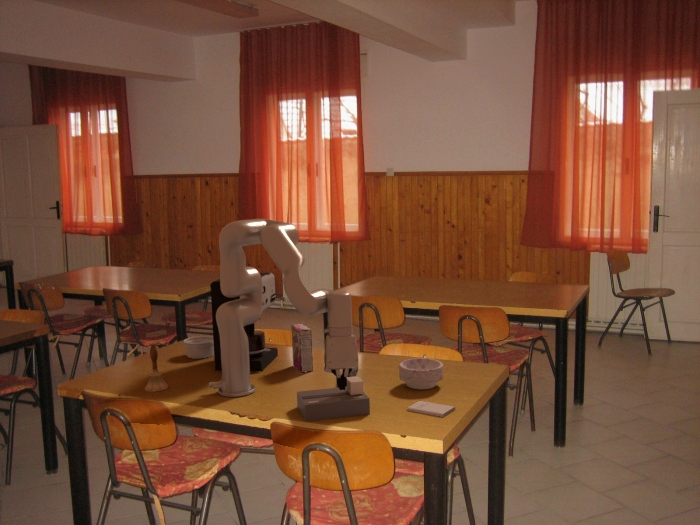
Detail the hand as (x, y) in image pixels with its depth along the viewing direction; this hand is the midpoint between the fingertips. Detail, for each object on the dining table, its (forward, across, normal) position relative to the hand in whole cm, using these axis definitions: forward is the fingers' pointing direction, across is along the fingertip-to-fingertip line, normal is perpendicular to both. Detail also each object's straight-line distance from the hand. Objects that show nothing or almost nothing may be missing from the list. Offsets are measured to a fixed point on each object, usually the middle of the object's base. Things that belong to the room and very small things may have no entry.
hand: (341, 388), depth 215 cm
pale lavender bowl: (+7, +32, +15) cm, 36 cm away
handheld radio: (+7, +11, +31) cm, 33 cm away
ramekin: (+8, -40, +86) cm, 95 cm away
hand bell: (+7, -57, +44) cm, 72 cm away
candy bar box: (+7, -3, +51) cm, 52 cm away
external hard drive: (+7, +26, -9) cm, 29 cm away
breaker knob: (+1, +4, 0) cm, 4 cm away
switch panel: (+7, -3, 0) cm, 7 cm away
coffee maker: (+7, -23, +65) cm, 69 cm away
